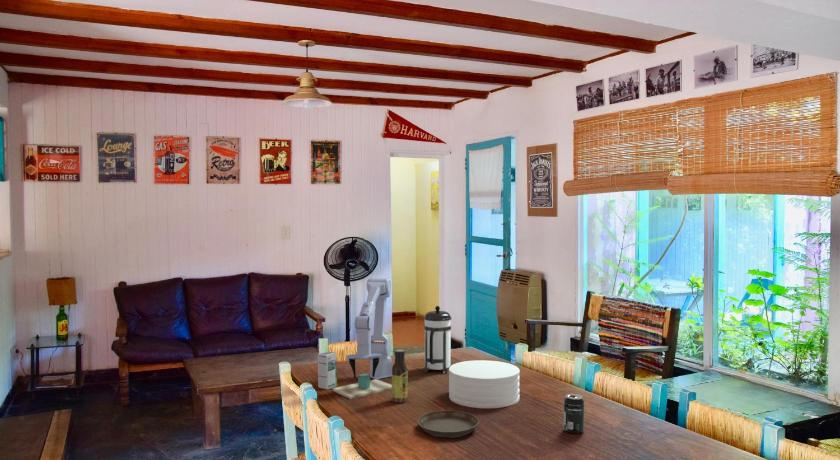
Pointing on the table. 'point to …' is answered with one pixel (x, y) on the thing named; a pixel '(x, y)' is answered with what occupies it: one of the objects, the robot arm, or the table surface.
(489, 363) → the plate stack
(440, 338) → the coffee press
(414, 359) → the table surface
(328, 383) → the syrup box
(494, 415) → the table surface
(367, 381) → the teal cube
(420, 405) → the table surface
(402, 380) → the sauce bottle
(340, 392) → the post board
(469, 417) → the plant saucer
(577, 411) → the beverage can
